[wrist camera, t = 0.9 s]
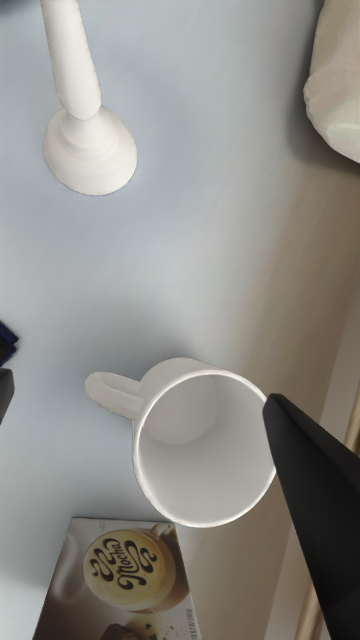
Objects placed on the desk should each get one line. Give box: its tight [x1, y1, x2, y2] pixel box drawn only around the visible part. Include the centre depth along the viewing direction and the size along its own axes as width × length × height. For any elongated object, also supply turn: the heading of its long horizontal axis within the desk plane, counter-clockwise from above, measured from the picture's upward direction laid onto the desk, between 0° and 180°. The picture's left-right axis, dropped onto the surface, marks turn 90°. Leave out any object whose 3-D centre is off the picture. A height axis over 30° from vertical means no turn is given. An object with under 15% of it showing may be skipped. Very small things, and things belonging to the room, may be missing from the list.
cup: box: [85, 358, 276, 527], centre depth 19 cm, size 8×12×10 cm
